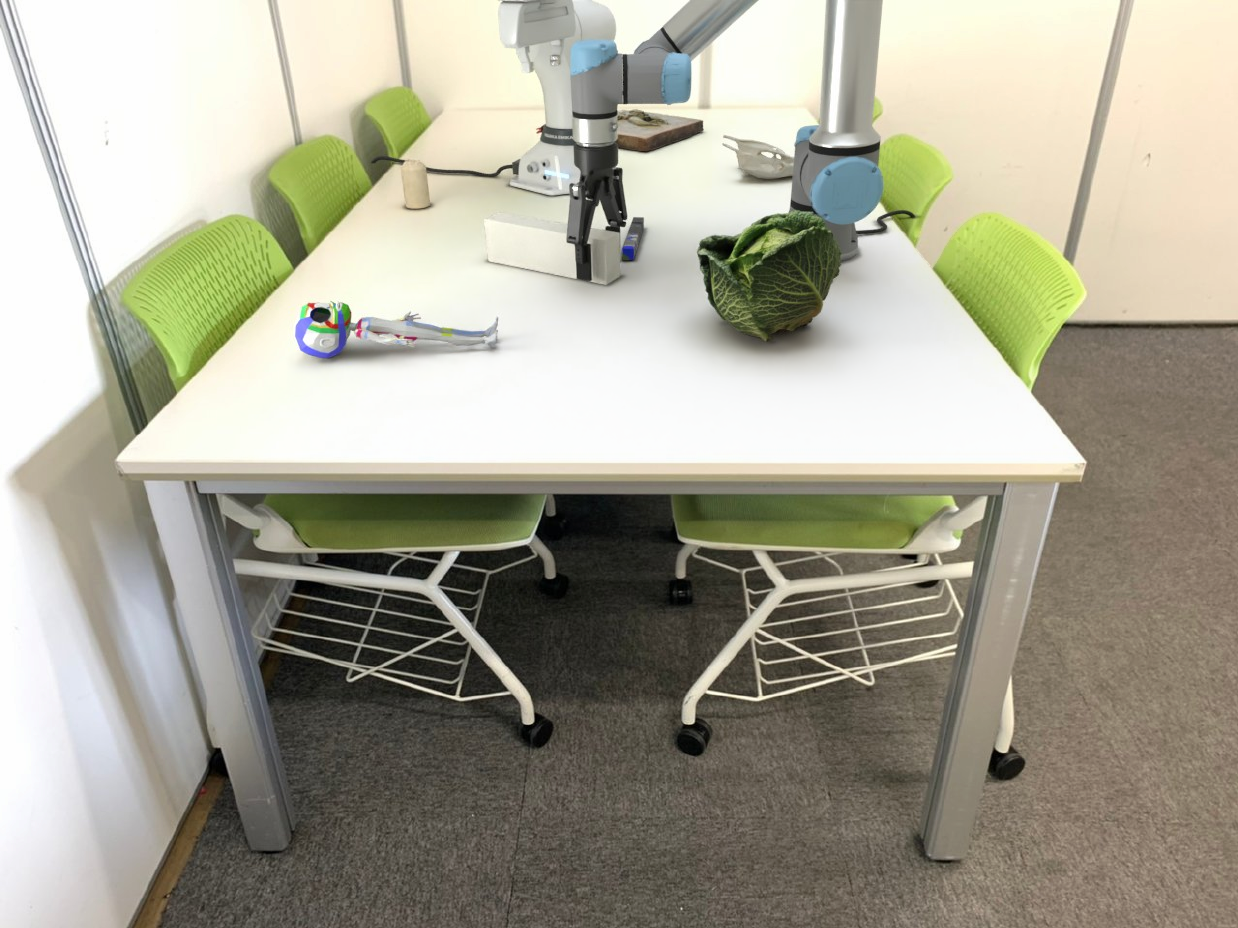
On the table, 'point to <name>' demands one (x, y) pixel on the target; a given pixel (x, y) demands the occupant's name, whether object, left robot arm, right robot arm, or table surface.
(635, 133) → the plaque
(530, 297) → the table surface
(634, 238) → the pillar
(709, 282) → the vegetable
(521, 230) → the bar
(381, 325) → the toy
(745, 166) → the anatomical model
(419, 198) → the candle
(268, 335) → the table surface
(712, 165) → the table surface
